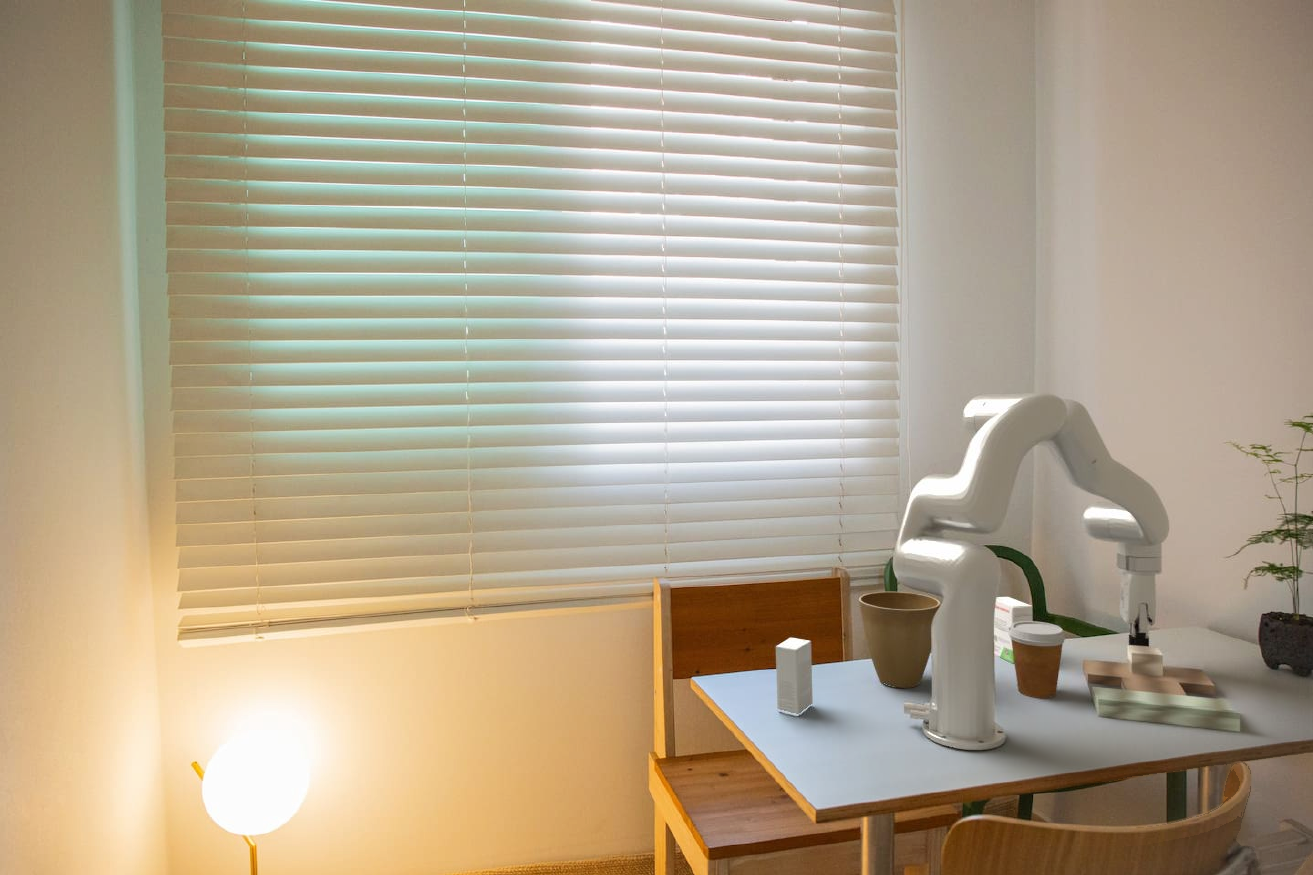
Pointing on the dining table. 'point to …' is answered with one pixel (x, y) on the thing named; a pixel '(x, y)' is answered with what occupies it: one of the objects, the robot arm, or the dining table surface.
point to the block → (1145, 660)
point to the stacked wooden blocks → (1158, 696)
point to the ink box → (1008, 624)
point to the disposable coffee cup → (1037, 657)
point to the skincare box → (794, 675)
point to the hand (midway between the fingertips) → (1138, 656)
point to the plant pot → (898, 634)
